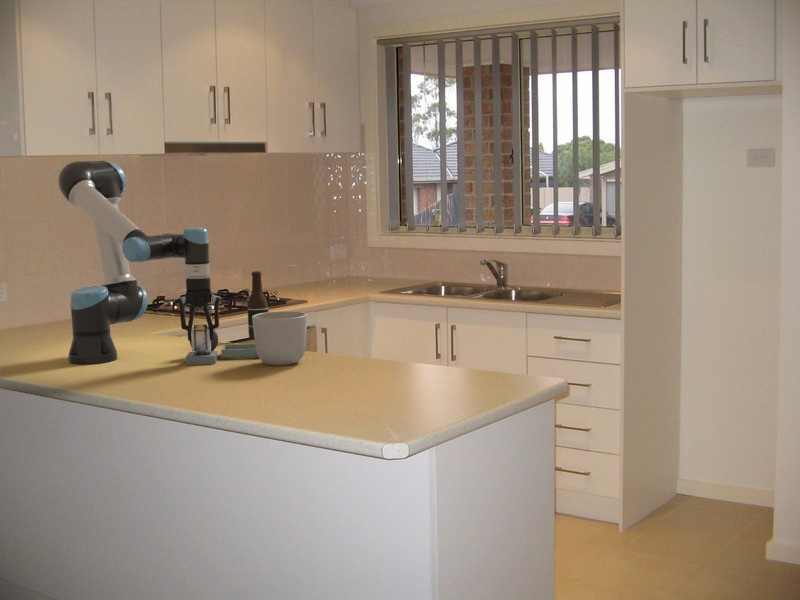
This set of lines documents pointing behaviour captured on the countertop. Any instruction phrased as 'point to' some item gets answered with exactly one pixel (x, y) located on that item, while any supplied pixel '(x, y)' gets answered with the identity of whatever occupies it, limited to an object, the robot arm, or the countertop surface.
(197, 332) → the pin
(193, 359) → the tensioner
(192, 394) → the countertop surface
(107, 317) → the robot arm
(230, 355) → the tray
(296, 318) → the planter
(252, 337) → the beer bottle
